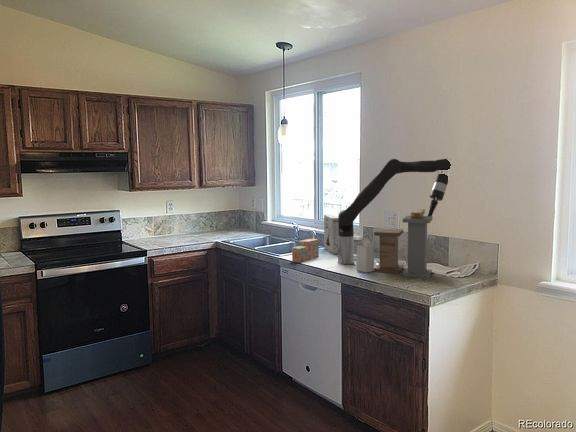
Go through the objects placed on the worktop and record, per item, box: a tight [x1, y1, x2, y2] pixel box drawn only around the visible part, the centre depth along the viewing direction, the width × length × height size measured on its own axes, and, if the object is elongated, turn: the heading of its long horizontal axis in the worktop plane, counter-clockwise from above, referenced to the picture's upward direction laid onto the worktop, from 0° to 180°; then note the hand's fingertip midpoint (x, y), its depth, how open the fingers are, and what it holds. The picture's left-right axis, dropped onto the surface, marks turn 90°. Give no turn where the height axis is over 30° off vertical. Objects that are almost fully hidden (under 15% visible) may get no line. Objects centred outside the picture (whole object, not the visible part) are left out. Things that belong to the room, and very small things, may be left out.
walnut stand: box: [373, 228, 404, 274], centre depth 269 cm, size 14×14×23 cm
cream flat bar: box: [410, 207, 426, 219], centre depth 260 cm, size 23×6×3 cm, turn 156°
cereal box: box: [323, 213, 339, 255], centre depth 327 cm, size 22×8×25 cm, turn 10°
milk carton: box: [356, 237, 375, 273], centre depth 268 cm, size 7×7×19 cm
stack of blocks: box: [291, 238, 320, 263], centre depth 303 cm, size 21×6×12 cm, turn 142°
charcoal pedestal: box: [401, 215, 433, 279], centre depth 256 cm, size 14×14×32 cm
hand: (429, 216), depth 272 cm, fingers open, 8 cm apart
